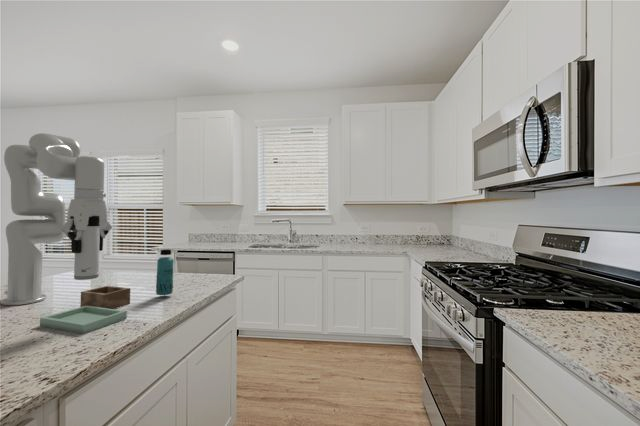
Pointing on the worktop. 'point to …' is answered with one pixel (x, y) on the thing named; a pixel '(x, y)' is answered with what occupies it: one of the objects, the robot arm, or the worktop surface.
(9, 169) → the robot arm
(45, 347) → the worktop surface
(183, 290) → the worktop surface
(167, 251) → the beverage bottle
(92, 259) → the travel mug
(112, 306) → the box
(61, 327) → the tray
